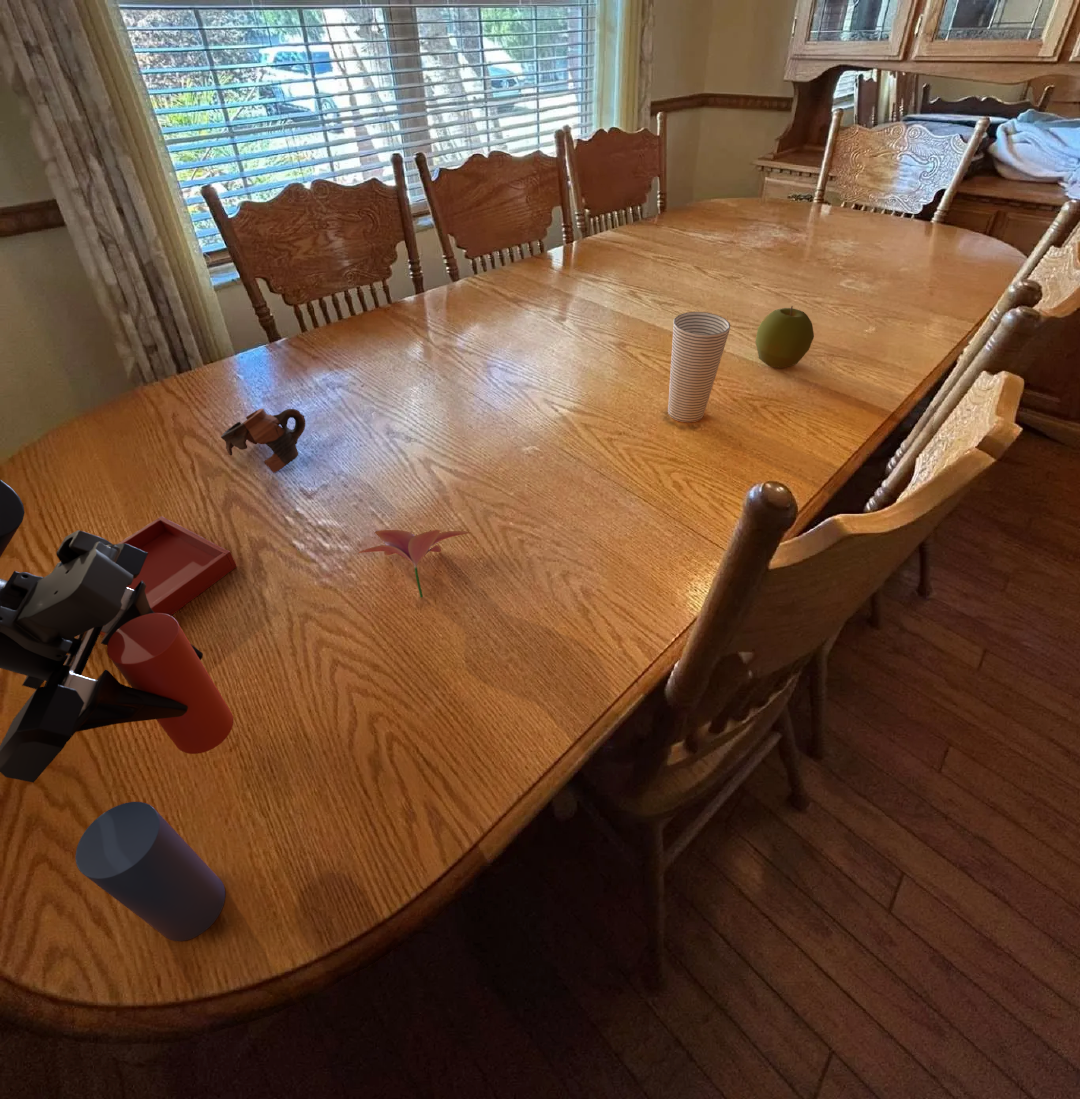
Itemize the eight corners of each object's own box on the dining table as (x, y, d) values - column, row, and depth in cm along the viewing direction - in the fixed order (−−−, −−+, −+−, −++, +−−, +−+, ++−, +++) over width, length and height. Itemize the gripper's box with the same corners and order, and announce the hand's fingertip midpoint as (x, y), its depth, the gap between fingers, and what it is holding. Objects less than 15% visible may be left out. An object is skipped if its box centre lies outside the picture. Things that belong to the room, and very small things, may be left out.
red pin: (183, 764, 54) (114, 675, 45) (167, 724, 57) (100, 632, 48) (241, 733, 57) (186, 642, 48) (223, 695, 59) (169, 603, 51)
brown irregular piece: (259, 487, 91) (218, 440, 87) (250, 481, 99) (212, 438, 95) (326, 438, 95) (290, 391, 91) (312, 436, 103) (278, 393, 99)
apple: (795, 381, 113) (813, 321, 106) (743, 367, 117) (757, 309, 110) (810, 359, 120) (828, 301, 112) (759, 347, 123) (774, 290, 116)
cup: (716, 427, 102) (736, 335, 92) (663, 427, 102) (678, 335, 91) (705, 400, 108) (723, 311, 98) (656, 400, 108) (669, 311, 98)
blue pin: (167, 956, 48) (82, 896, 39) (151, 899, 51) (68, 831, 42) (233, 912, 50) (168, 845, 41) (214, 860, 53) (149, 787, 44)
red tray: (124, 650, 69) (113, 635, 67) (55, 604, 74) (43, 589, 72) (237, 566, 79) (230, 551, 77) (169, 530, 83) (161, 515, 82)
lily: (487, 572, 79) (470, 498, 77) (446, 609, 69) (425, 524, 66) (405, 579, 84) (387, 510, 81) (355, 615, 73) (332, 536, 70)
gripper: (-69, 659, 34) (218, 738, 43) (65, 460, 47) (261, 552, 56) (-127, 755, 38) (143, 808, 47) (10, 548, 52) (200, 620, 61)
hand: (193, 684), depth 53 cm, fingers closed on red pin, 5 cm apart
